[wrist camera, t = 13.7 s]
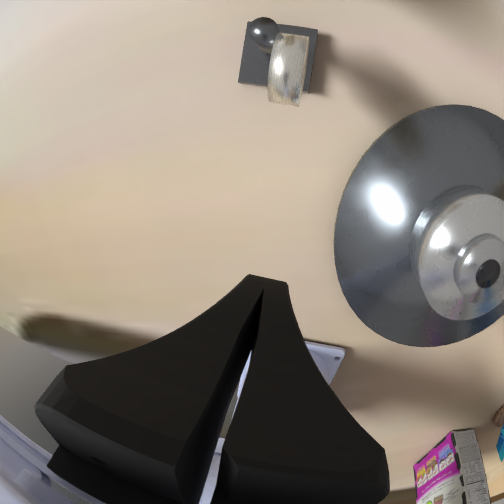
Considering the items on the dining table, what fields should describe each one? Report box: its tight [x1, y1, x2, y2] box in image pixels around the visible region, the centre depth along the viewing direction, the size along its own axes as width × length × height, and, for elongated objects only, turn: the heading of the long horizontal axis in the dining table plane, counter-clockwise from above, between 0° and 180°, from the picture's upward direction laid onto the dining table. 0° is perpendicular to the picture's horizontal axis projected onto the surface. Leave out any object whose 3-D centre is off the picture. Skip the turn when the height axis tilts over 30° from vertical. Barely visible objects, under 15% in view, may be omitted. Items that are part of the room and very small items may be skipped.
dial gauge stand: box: [238, 17, 318, 107], centre depth 12 cm, size 5×4×7 cm
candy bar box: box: [413, 429, 491, 504], centre depth 21 cm, size 11×5×16 cm, turn 175°
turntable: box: [334, 105, 504, 347], centre depth 14 cm, size 18×21×4 cm
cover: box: [409, 185, 504, 320], centre depth 14 cm, size 8×8×4 cm
